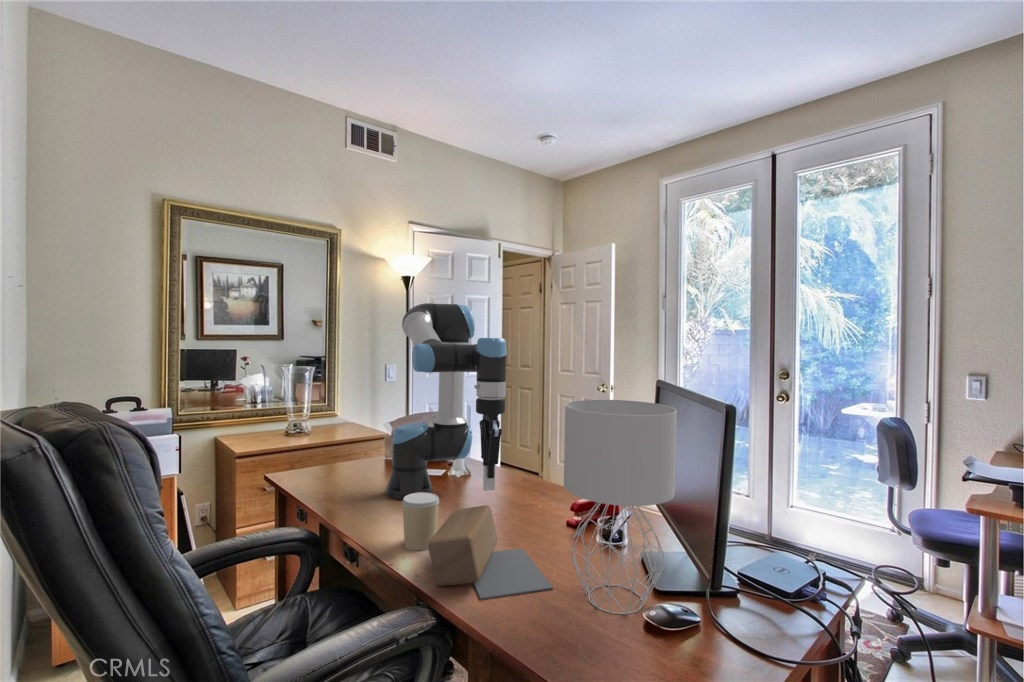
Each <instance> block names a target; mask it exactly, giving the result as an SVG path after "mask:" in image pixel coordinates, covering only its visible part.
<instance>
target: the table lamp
mask: <svg viewBox="0 0 1024 682" xmlns="http://www.w3.org/2000/svg"><path fill="white" fill-rule="evenodd" d="M564 409H565V410H564V411H565V414H564V445H563V446H564V453H563V455H564V457H563V487H564V489H565V490H566V491H568V493H570V494H572V495H573V496H576V497H578V498H581V499H583V500H587V501H589V502H594V503H595V504H594V506H592V508H591V509H590V510H589V512H588V513H587V514H586V515H585V516H584V517H583V519H582V520H580V522H579V524H578V526H577V527H576V530H575V532H574V535H573V536H572V539H571V546H570V550H571V557H570V558H571V562H572V564H573V567H574V569H575V572H576V574H577V577H578V578H579V581H580V584H581V587H582V588H583V590H584V592H585V594H586V597H587V599H588V602H590V604H592V606H594V607H595V608H596V609H598V610H601V611H603V612H605V613H608V614H611V615H612V614H614V615H624V616H626V615H630V614H634V613H637V612H638V613H639V611H640V610H641V609H642V607H643V606H644V605H645V603H646V601H647V600H648V599H649V597H650V595H651V593H652V591H653V590H654V588H655V586H656V584H657V582H658V580H659V579H660V576H661V574H662V572H663V570H664V568H665V567H666V561H665V555H664V550H663V548H662V545H661V543H660V541H659V538H658V535H657V534H656V532H655V531H656V530H654V527H653V526H652V524H651V523H650V521H649V520H648V518H647V517H646V515H645V514H644V512H643V511H642V510H641V508H640V507H646V506H647V507H648V506H655V505H659V504H664V503H667V502H669V501H671V500H672V499H673V498H674V497H675V495H676V493H675V492H676V457H677V456H676V453H677V416H678V415H677V414H678V413H677V411H678V410H677V409H676V408H675V407H672V406H669V405H665V404H661V403H656V402H655V403H654V402H648V401H647V402H645V401H637V400H636V401H635V400H624V399H585V400H584V399H581V400H573V401H568V402H567V403H565V405H564ZM601 504H603V505H605V506H604V508H603V511H602V512H601V514H600V517H599V519H598V522H597V523H596V522H595V521H594V520H593V519H592V517H593V516H594V514H596V511H597V509H598V508H599V507H600V505H601ZM610 505H611V506H612V505H613V511H612V513H613V514H612V521H611V522H610V523H608V524H606V525H604V521H605V516H606V515H607V511H608V508H609V507H610ZM616 506H620V509H621V517H619V518H616V519H615V513H616V512H615V511H616ZM626 507H631V510H632V511H633V513H634V515H635V517H636V519H637V521H638V524H639V526H640V527H641V530H639V528H638V527H636V525H634V524H633V523H631V522H630V521H629V520H628V516H627V511H626ZM635 507H636V508H637V510H638V512H639V513H640V515H641V517H643V519H644V520H645V522H646V524H647V526H649V528H650V529H648V530H647V531H645V530H644V527H643V526H642V521H641V518H640V517H639V515H638V512H637V511H636V509H635ZM623 511H624V512H623ZM589 514H590V515H589ZM587 517H588V518H587ZM586 518H587V519H586ZM602 518H603V519H602ZM585 519H586V520H585ZM601 519H602V523H601V525H599V524H600V522H601ZM614 519H615V520H614ZM621 519H622V521H621V522H622V544H621V545H622V546H621V551H620V550H618V549H617V548H616V547H615V546H614V545H613V544H612V538H613V530H614V523H616V522H618V521H619V520H621ZM624 520H625V522H626V526H627V532H628V536H629V541H630V546H631V551H630V552H629V553H627V554H625V555H624V543H625V541H624V539H625V534H624V533H625V532H624V531H625V527H624V526H625V525H624V524H625V523H624ZM589 521H591V522H592V523H593V524H595V525H596V526H595V529H594V532H593V534H592V535H591V538H590V541H589V543H588V544H589V545H588V548H587V550H586V547H585V543H584V535H585V530H586V528H587V526H588V523H589ZM583 522H584V523H583ZM582 523H583V524H582ZM581 524H582V525H581ZM609 525H611V530H610V531H611V532H610V538H609V539H610V541H609V543H608V542H607V541H606V540H605V539H604V538H603V536H602V535H603V529H604V528H605V527H608V526H609ZM630 525H631V526H632V527H633V528H634V529H636V530H637V531H638V532H639V533H640V534H642V538H643V544H642V545H640V546H639V547H637V548H636V549H634V547H633V541H632V536H631V531H630V530H631V529H630ZM580 526H581V527H580ZM598 527H599V528H600V537H599V539H598V540H597V542H596V543H595V545H594V547H593V548H592V549H591V552H590V548H591V544H592V542H593V541H592V540H593V537H594V536H595V534H596V531H597V529H598ZM650 531H652V533H653V534H654V537H655V541H656V542H657V546H658V547H657V546H656V545H654V544H653V543H651V542H650V540H649V537H648V536H647V533H649V532H650ZM576 537H577V538H576ZM575 538H576V540H575V543H574V539H575ZM579 538H580V539H581V542H582V547H583V550H584V554H585V555H582V554H581V553H580V552H578V551H577V550H576V549H575V547H576V545H577V542H578V540H579ZM645 539H646V540H645ZM599 542H600V545H601V548H600V549H598V550H595V548H596V547H597V546H598V544H599ZM603 542H605V544H607V545H605V546H604V547H603ZM646 542H648V543H647V544H646ZM648 546H649V549H650V552H651V556H652V559H653V562H654V563H653V564H654V565H653V568H652V564H651V560H650V558H649V554H648V551H647V548H648ZM652 547H653V548H654V549H655V550H657V551H658V556H657V559H656V560H655V556H654V553H653V550H652ZM606 548H609V550H608V562H607V573H606V567H605V558H604V549H606ZM641 548H642V549H641ZM639 549H641V554H640V555H639V556H638V559H637V560H636V561H635V554H634V553H635V551H637V550H639ZM594 550H595V551H594ZM611 550H612V551H614V553H616V554H617V555H618V556H619V557H620V559H619V561H618V563H617V564H616V566H615V568H614V569H613V571H612V573H611V574H610V563H611V562H610V561H611V560H610V559H611ZM589 552H590V554H589ZM598 552H601V555H602V565H603V573H604V579H603V578H602V576H601V575H600V574H599V572H598V571H597V570H596V569H595V567H594V566H593V564H592V563H591V562H590V560H589V558H590V557H591V556H593V555H594V554H596V553H598ZM575 553H577V554H578V555H579V556H580V557H582V558H583V559H585V562H584V569H583V570H582V571H581V569H580V566H579V563H578V560H577V558H576V556H575ZM644 553H646V557H647V559H648V560H647V561H648V564H649V567H650V570H651V571H650V572H649V573H648V574H647V575H646V576H645V577H644V578H643V579H642V580H641V581H639V580H638V579H637V575H638V573H639V569H640V567H641V566H640V565H641V562H642V558H643V554H644ZM630 554H632V561H633V562H632V561H630V559H628V558H627V556H628V555H630ZM661 554H662V559H663V564H662V565H661V566H659V567H657V566H656V565H657V564H658V560H659V559H660V557H661V556H660V555H661ZM624 559H625V560H626V561H627V562H629V563H630V565H632V567H633V573H634V574H633V575H634V576H633V577H634V578H632V579H631V580H630V576H629V574H628V571H627V568H626V564H625V561H624ZM638 562H639V563H638ZM619 564H620V570H619V571H620V572H619V584H610V581H611V578H612V576H613V575H614V573H615V571H616V569H617V568H618V566H619ZM637 564H638V565H637ZM636 566H637V570H636ZM622 567H624V570H625V574H626V576H627V578H628V581H626V582H625V583H623V584H621V581H622V580H621V579H622ZM591 568H592V569H593V570H594V571H595V573H596V574H597V576H598V577H599V579H600V580H601V581H602V583H603V584H602V583H600V581H598V579H596V577H594V576H593V574H592V570H591ZM657 570H659V572H658V573H657ZM584 572H585V576H586V579H587V584H586V582H585V579H584V576H583V573H584ZM654 572H655V574H654V576H653V573H654ZM606 575H607V576H606ZM609 575H610V576H609ZM589 576H590V577H591V581H592V583H593V588H592V586H591V583H590V580H589ZM652 577H653V578H652ZM647 578H648V579H647ZM646 579H647V581H646V584H643V582H644V581H645V580H646ZM594 580H595V581H596V583H598V584H599V586H598V585H597V586H596V585H595V582H594ZM631 582H632V583H631ZM636 582H637V584H636V585H635V583H636ZM627 584H629V585H630V588H629V587H626V585H627ZM639 585H641V586H642V587H643V588H644V589H643V591H642V593H641V594H639V593H638V592H636V591H635V589H637V587H638V586H639ZM606 587H607V588H606ZM610 587H616V588H613V589H611V590H610ZM596 588H602V589H604V590H605V591H606V592H607V593H606V595H605V596H604V597H603V598H602V600H600V602H599V603H598V604H597V601H596V598H595V595H594V592H593V591H594V590H596ZM620 588H623V589H625V590H629V591H630V595H629V599H628V603H627V606H626V608H625V609H626V610H624V609H623V608H622V606H621V605H620V603H619V602H618V600H616V598H615V597H614V596H613V594H612V592H614V591H616V590H618V589H620ZM645 590H646V591H645ZM633 593H635V594H636V595H637V596H639V598H638V600H636V602H635V603H634V604H633V605H631V607H630V608H629V606H630V603H631V599H632V595H633ZM607 597H608V604H609V610H605V609H603V608H600V605H601V604H602V603H603V602H604V601H605V599H606V598H607ZM611 598H612V599H613V600H614V602H615V603H616V604H617V605H618V607H619V608H620V609H621V611H622V612H614V611H613V612H612V606H611V605H612V603H611ZM591 600H592V601H591ZM640 601H641V602H640ZM639 602H640V604H639V606H638V609H637V610H634V611H631V610H632V609H634V607H635V606H636V605H637V604H638V603H639Z"/></svg>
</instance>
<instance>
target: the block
mask: <svg viewBox="0 0 1024 682" xmlns="http://www.w3.org/2000/svg"><path fill="white" fill-rule="evenodd" d="M497 543H498V537H497V532H496V526H495V522H494V517H493V512H492V508H491V506H490V505H479V506H472V507H465V508H459V509H456V508H455V510H453V511H452V513H451V514H450V515H449V516H448V517H447V519H445V521H444V522H443V524H442V525H441V526H440V528H439V529H437V530H436V534H435V535H434V536H433V537H432V538H431V540H430V541H429V543H428V548H429V549H428V551H429V552H428V553H429V559H430V562H431V566H432V567H431V568H432V571H433V572H432V573H433V578H434V584H435V585H436V586H437V587H444V586H454V585H462V584H463V585H464V584H473V582H477V581H478V580H479V579H480V577H481V575H482V573H483V571H484V569H485V566H486V564H487V562H488V560H489V558H490V556H491V554H492V552H494V550H495V548H496V546H497Z"/></svg>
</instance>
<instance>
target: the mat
mask: <svg viewBox="0 0 1024 682" xmlns="http://www.w3.org/2000/svg"><path fill="white" fill-rule="evenodd" d="M472 584H473V587H474V588H475V591H476V593H477V595H478V597H479V599H480V601H483V600H490V599H496V598H503V597H511V596H516V595H517V596H518V595H524V594H525V595H526V594H529V593H530V594H531V593H536V592H537V593H539V592H544V591H550V590H554V587H553V585H552V584H551V583H550V581H549V580H548V579H547V578H546V576H545V575H544V573H543V572H542V571H541V569H540V568H539V567H538V565H537V564H536V563H535V562H534V560H532V558H531V557H530V556H529V554H528V553H527V552H526V550H525V549H524V548H523V547H522V548H515V549H506V550H497V551H493V552H492V554H491V556H490V558H489V560H488V562H487V564H486V566H485V569H484V571H483V573H482V575H481V577H480V579H479V580H478V581H477V582H473V583H472Z"/></svg>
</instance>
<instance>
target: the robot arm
mask: <svg viewBox="0 0 1024 682" xmlns="http://www.w3.org/2000/svg"><path fill="white" fill-rule="evenodd" d="M401 327H402V331H403V333H404V334H405V336H406V337H408V338H409V339H410V340H411V343H412V344H413V347H412V352H411V353H412V354H411V355H412V356H411V363H412V368H413V370H414V371H415V372H418V373H426V374H427V373H438V404H437V405H438V410H437V415H438V416H436V418H435V419H434V420H433V426H429V424H428V423H427V422H424V421H423V422H420V421H418V422H416V421H415V422H408V423H405V424H401V425H399V426H397V427H395V428H394V429H393V431H392V433H393V434H392V441H391V443H392V458H391V459H392V463H391V465H392V466H391V472H390V473H391V474H390V476H389V478H388V482H387V485H386V490H385V491H386V492H385V494H386V496H387V497H389V498H390V499H394V500H401V501H403V499H404V497H405V496H407V495H409V494H412V493H420V492H425V493H432V494H433V492H432V491H433V490H432V488H433V486H432V482H431V478H430V476H429V472H428V462H436V461H456V460H461V459H462V460H463V459H465V458H467V457H468V455H469V454H470V451H471V448H472V444H473V428H472V427H471V425H469V424H468V420H467V419H466V418H465V417H464V387H465V386H464V382H465V381H464V380H465V379H464V375H465V374H464V373H476V384H474V385H473V386H474V387H473V389H475V390H476V395H475V396H476V397H477V398H476V399H475V412H476V413H477V414H479V415H482V419H481V420H480V421H479V422H478V424H479V429H480V433H479V434H480V455H481V456H480V457H481V460H482V466H483V474H482V476H483V478H482V480H483V482H482V489H483V491H495V489H496V487H495V486H496V465H499V456H500V446H501V436H502V433H503V432H502V431H503V429H502V428H500V422H501V421H500V420H499V415H503V414H504V413H506V399H505V398H504V397H506V394H507V393H506V391H507V389H506V388H507V381H506V377H507V372H506V371H507V354H508V351H507V341H506V339H504V338H503V337H480V338H478V339H477V342H476V343H475V344H474V343H473V344H470V340H471V339H473V338H474V336H475V330H476V329H475V327H476V325H475V317H474V315H473V311H472V309H471V307H469V306H468V305H465V304H458V303H455V304H453V303H452V304H451V303H432V302H431V303H427V302H426V303H425V302H424V303H420V304H417V305H416V306H415V305H414V306H413V307H412V308H410V309H409V310H408V311H407V312H406V313H405V314H404V316H403V318H402V322H401Z"/></svg>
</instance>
